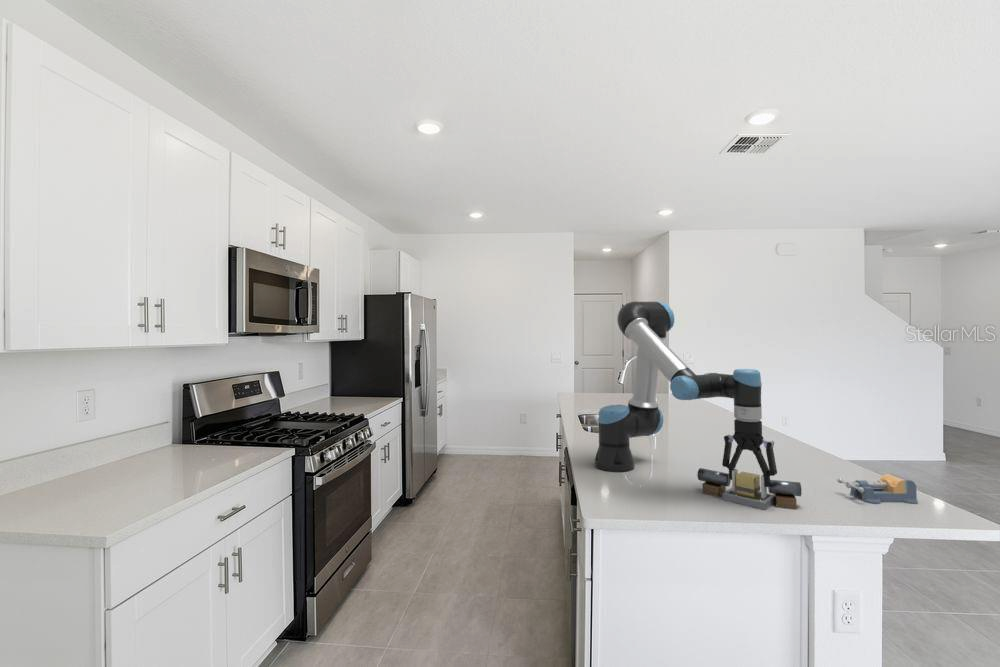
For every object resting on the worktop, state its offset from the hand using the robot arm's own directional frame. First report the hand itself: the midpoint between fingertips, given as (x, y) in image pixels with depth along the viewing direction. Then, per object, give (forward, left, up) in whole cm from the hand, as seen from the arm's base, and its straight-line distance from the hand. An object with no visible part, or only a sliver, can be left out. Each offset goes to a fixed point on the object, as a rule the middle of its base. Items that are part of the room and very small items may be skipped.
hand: (749, 493), depth 142 cm
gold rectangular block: (0, 0, -2) cm, 2 cm away
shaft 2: (+8, +4, -2) cm, 10 cm away
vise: (+27, +29, -3) cm, 40 cm away
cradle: (0, 0, -2) cm, 2 cm away
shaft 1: (-11, 0, -2) cm, 11 cm away
